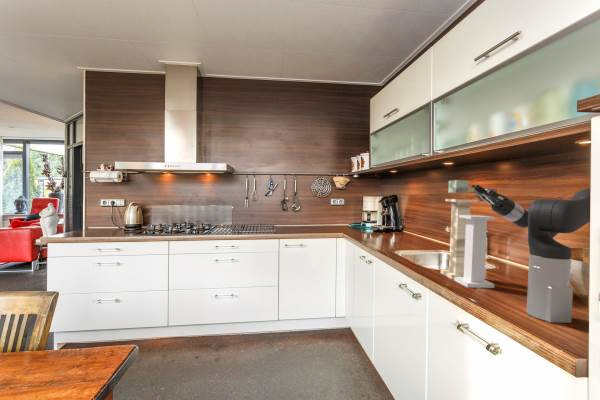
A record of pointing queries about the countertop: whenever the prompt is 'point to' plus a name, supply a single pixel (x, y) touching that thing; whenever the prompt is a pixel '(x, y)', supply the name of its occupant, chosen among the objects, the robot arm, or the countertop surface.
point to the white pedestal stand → (475, 252)
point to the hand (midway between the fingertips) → (473, 186)
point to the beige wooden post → (457, 237)
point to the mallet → (464, 187)
